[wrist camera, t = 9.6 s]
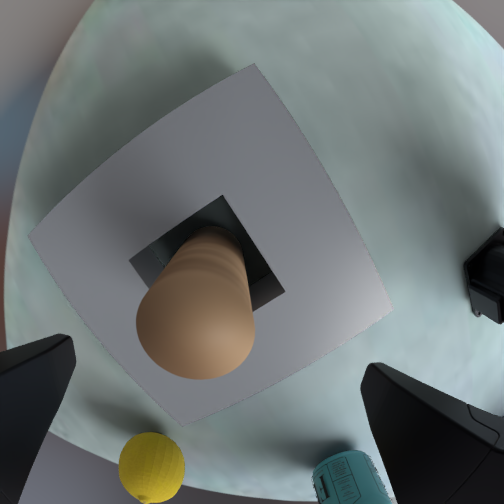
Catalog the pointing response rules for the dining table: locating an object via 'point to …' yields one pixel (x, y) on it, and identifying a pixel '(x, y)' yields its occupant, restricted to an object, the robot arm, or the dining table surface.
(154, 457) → the lemon
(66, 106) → the dining table surface
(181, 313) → the peg
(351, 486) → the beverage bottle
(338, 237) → the socket
